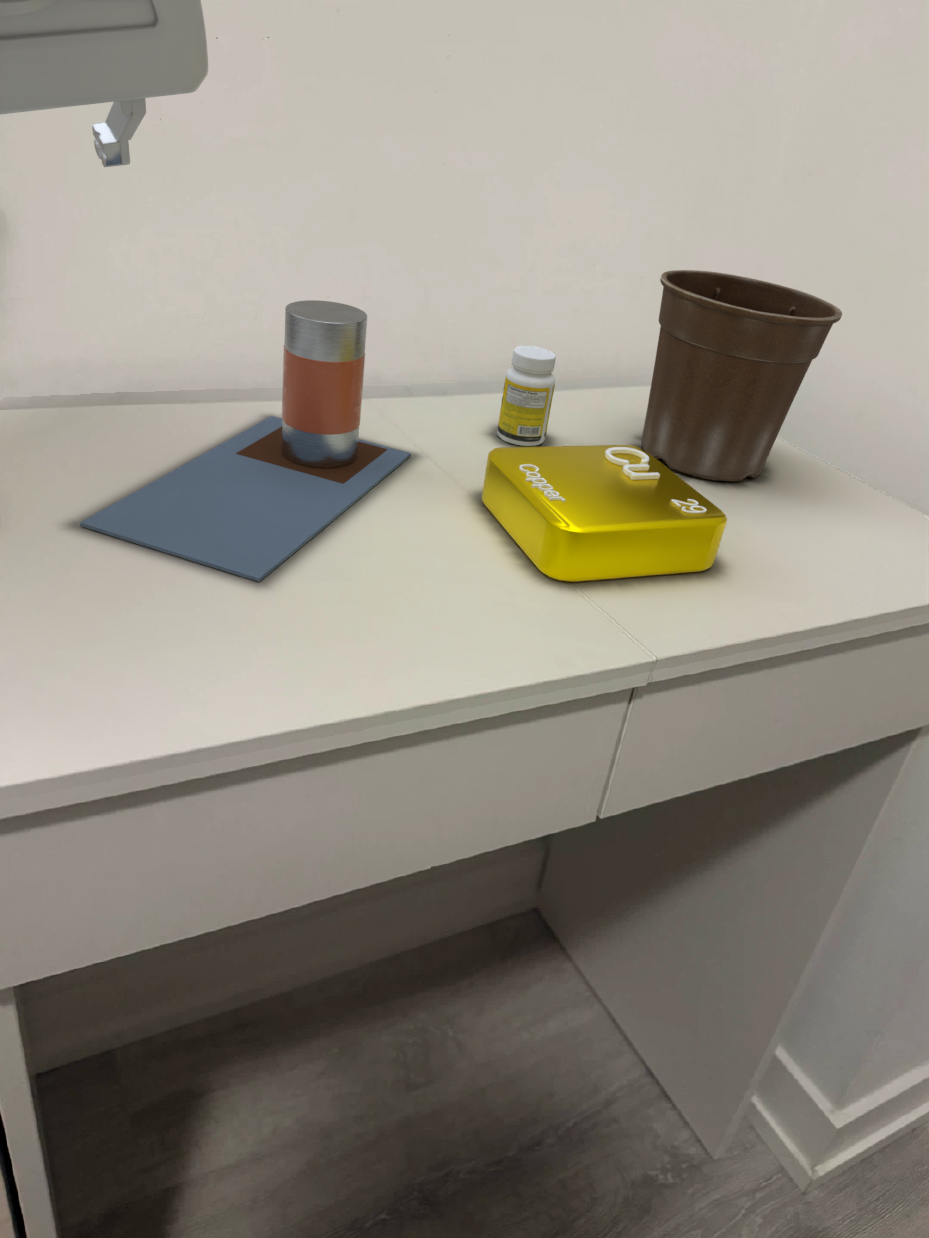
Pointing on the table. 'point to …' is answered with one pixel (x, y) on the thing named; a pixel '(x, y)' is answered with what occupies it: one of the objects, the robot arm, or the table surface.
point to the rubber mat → (244, 502)
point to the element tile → (600, 512)
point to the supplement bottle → (527, 396)
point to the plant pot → (728, 370)
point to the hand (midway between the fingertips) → (30, 171)
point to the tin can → (322, 382)
